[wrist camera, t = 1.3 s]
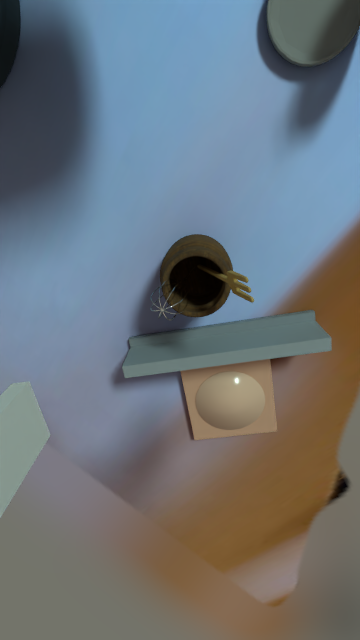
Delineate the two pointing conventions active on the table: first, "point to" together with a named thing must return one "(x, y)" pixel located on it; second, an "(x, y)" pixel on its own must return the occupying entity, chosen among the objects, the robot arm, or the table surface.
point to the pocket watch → (312, 28)
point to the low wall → (226, 344)
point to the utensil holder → (198, 277)
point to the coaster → (230, 399)
